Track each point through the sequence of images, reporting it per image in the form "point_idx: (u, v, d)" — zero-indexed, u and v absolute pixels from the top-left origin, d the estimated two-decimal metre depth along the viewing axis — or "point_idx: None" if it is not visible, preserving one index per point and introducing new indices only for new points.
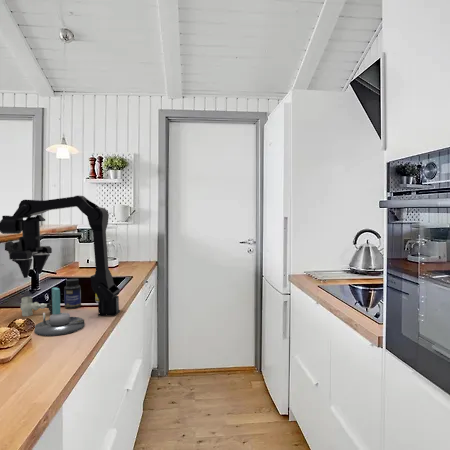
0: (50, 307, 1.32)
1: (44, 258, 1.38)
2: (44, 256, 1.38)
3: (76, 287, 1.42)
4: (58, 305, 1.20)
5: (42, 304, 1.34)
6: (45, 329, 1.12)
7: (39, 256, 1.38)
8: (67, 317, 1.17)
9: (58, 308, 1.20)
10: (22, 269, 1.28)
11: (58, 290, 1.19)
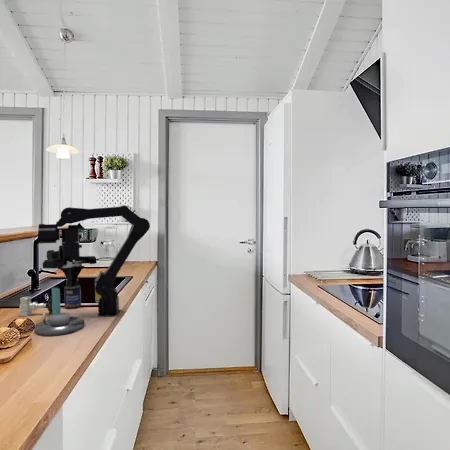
0: (49, 307, 1.32)
1: (76, 270, 1.28)
2: (76, 268, 1.28)
3: (76, 287, 1.42)
4: (58, 305, 1.20)
5: (41, 304, 1.34)
6: (45, 329, 1.12)
7: None
8: (67, 317, 1.17)
9: (58, 308, 1.20)
10: (67, 277, 1.27)
11: (58, 290, 1.19)
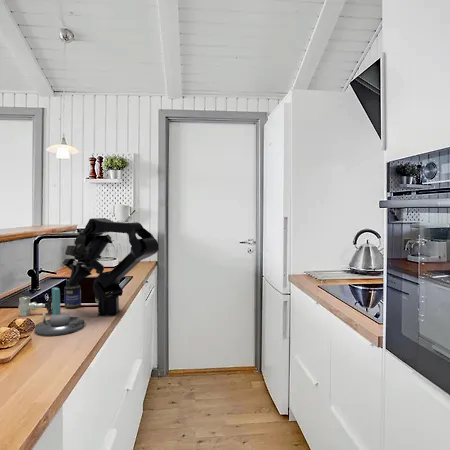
0: (48, 307, 1.32)
1: None
2: None
3: (76, 287, 1.42)
4: (58, 305, 1.20)
5: (40, 304, 1.34)
6: (45, 329, 1.12)
7: None
8: (67, 317, 1.17)
9: (58, 308, 1.20)
10: (75, 277, 1.27)
11: (58, 290, 1.19)
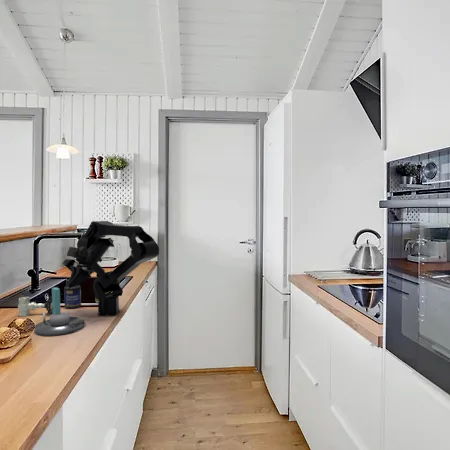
0: (48, 307, 1.32)
1: None
2: None
3: (76, 287, 1.42)
4: (58, 305, 1.20)
5: (40, 304, 1.34)
6: (45, 329, 1.12)
7: None
8: (67, 317, 1.17)
9: (58, 308, 1.20)
10: (75, 279, 1.26)
11: (58, 290, 1.19)
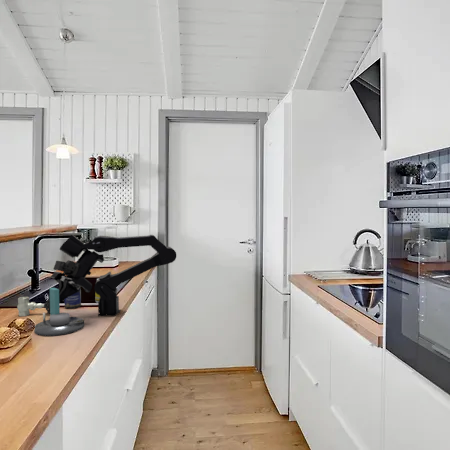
0: (47, 307, 1.32)
1: None
2: None
3: None
4: (57, 305, 1.19)
5: (39, 304, 1.34)
6: (45, 329, 1.12)
7: None
8: (68, 317, 1.18)
9: (57, 308, 1.19)
10: (62, 293, 1.23)
11: (57, 290, 1.19)
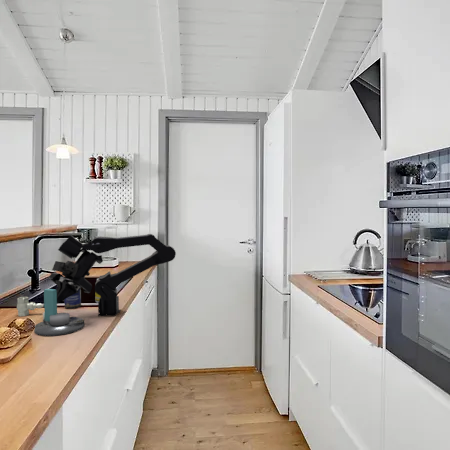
0: None
1: None
2: None
3: None
4: (55, 306, 1.19)
5: (39, 304, 1.34)
6: (45, 329, 1.12)
7: None
8: (69, 316, 1.19)
9: (55, 309, 1.19)
10: (61, 294, 1.22)
11: (55, 290, 1.19)
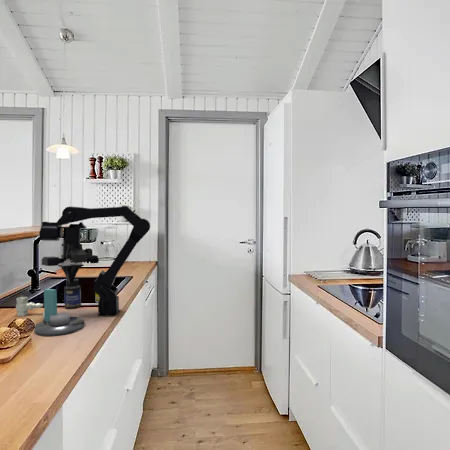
0: None
1: None
2: None
3: (76, 287, 1.42)
4: (55, 306, 1.19)
5: (38, 304, 1.34)
6: (45, 329, 1.12)
7: None
8: (69, 316, 1.19)
9: (55, 309, 1.19)
10: None
11: (55, 290, 1.19)
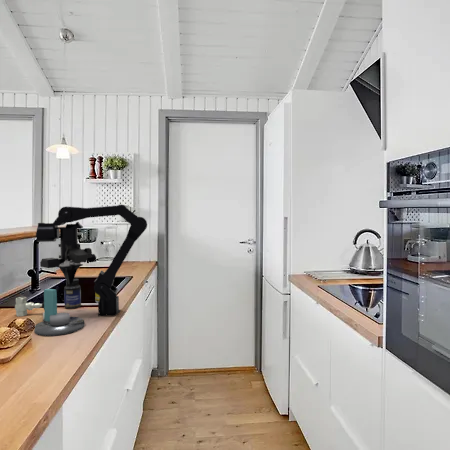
0: None
1: None
2: None
3: (76, 287, 1.42)
4: (55, 306, 1.19)
5: (37, 304, 1.34)
6: (45, 329, 1.12)
7: None
8: (69, 316, 1.19)
9: (55, 309, 1.19)
10: None
11: (55, 290, 1.19)
